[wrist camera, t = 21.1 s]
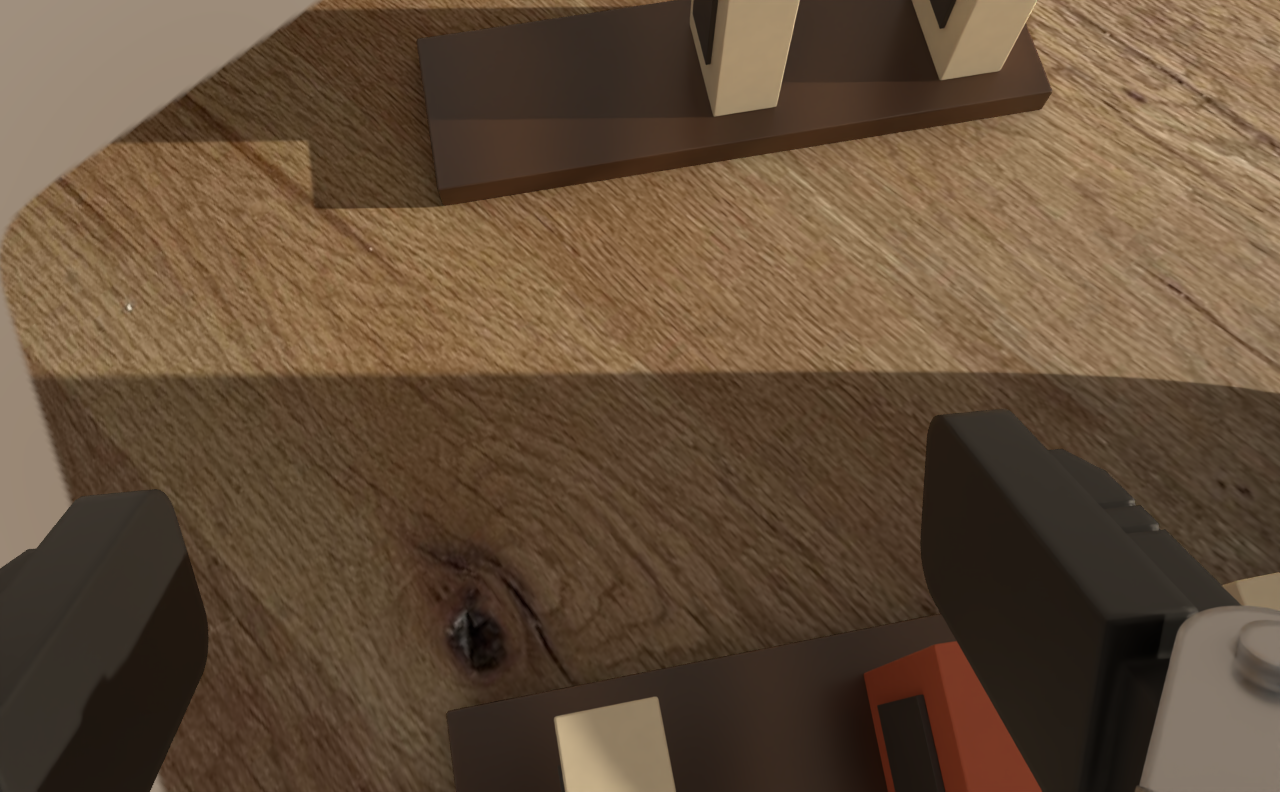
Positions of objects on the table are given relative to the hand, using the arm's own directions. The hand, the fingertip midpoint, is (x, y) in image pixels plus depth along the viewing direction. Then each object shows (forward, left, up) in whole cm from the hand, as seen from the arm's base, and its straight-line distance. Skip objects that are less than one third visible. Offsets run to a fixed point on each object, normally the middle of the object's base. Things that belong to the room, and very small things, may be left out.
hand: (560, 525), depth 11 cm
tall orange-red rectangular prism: (+8, +5, -22) cm, 24 cm away
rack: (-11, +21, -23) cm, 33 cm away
